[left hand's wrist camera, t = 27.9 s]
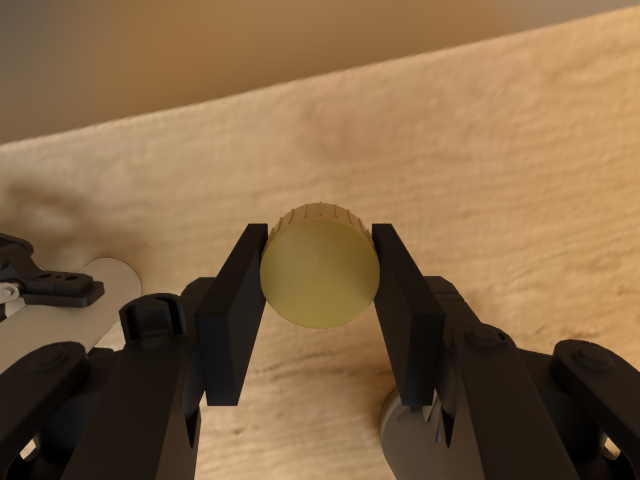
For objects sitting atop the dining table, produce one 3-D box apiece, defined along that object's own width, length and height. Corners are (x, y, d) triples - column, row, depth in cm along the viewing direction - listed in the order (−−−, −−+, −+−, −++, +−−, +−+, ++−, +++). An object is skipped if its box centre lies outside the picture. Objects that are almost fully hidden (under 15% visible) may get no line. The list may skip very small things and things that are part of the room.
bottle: (153, 286, 29) (-199, 660, 9) (118, 318, 30) (-264, 714, 10) (106, 246, 27) (-417, 580, 8) (71, 281, 28) (-465, 652, 9)
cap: (369, 195, 13) (378, 211, 11) (376, 294, 15) (385, 324, 13) (257, 207, 14) (246, 225, 12) (275, 304, 15) (268, 335, 13)
